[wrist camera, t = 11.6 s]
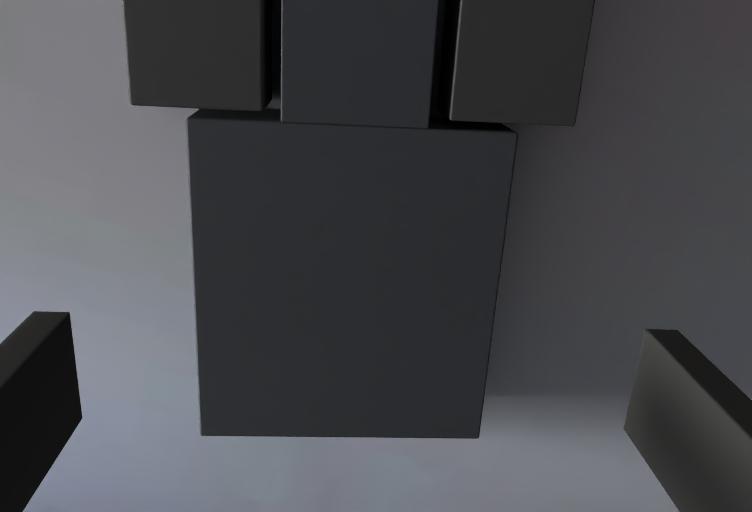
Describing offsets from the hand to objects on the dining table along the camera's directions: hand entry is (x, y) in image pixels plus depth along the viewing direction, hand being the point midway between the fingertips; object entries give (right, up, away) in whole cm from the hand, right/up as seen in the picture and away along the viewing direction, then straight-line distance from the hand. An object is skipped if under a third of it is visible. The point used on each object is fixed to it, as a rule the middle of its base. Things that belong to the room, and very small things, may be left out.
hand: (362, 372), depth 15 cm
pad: (-1, +4, +6) cm, 7 cm away
